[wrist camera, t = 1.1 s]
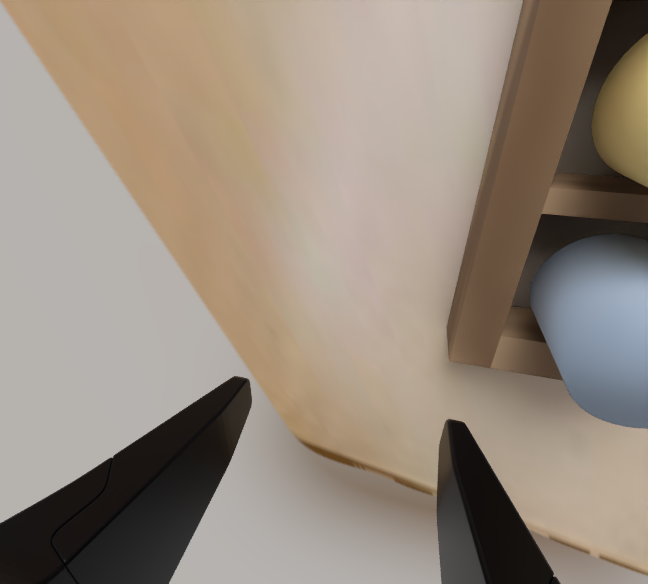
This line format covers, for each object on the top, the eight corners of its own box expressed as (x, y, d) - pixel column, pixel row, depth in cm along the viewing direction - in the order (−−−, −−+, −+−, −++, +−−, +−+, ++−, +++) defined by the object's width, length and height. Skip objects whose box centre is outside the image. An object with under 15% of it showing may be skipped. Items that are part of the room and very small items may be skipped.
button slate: (699, 241, 14) (820, 314, 9) (637, 347, 16) (711, 442, 12) (551, 227, 15) (600, 287, 10) (515, 329, 17) (542, 411, 13)
